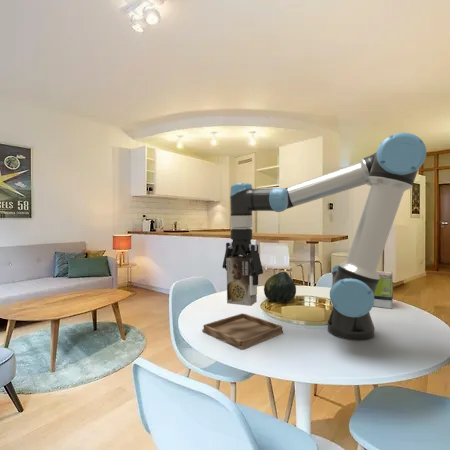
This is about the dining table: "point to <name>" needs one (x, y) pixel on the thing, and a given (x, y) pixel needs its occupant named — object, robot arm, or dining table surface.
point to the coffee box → (239, 281)
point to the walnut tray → (242, 330)
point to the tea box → (384, 290)
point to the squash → (280, 287)
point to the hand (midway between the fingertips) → (241, 291)
